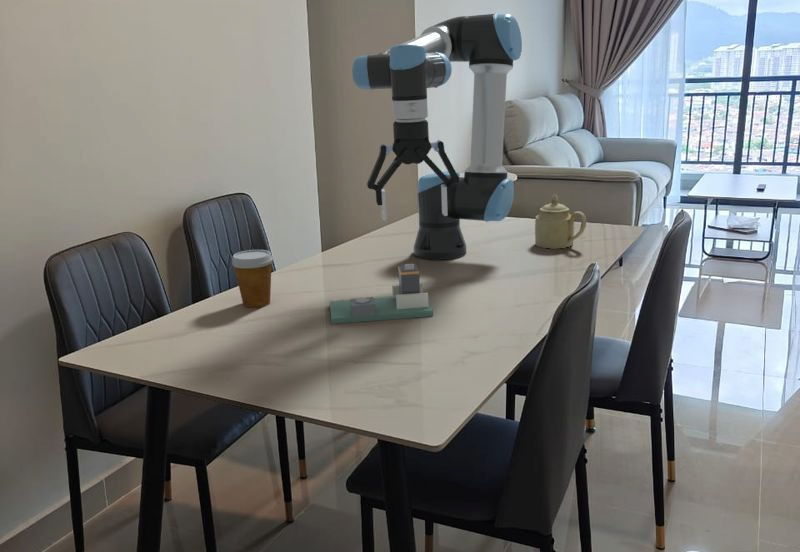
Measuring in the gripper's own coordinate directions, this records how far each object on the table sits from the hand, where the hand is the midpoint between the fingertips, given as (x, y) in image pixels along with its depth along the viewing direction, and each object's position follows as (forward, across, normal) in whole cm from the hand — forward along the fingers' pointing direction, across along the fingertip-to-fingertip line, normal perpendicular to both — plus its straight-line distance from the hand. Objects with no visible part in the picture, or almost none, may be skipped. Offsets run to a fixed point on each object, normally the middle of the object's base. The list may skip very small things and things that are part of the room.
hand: (414, 217), depth 159 cm
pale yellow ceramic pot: (+22, +49, +41) cm, 67 cm away
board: (+20, -9, -5) cm, 22 cm away
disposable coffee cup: (+20, -37, +7) cm, 43 cm away
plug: (+18, -2, -4) cm, 19 cm away
